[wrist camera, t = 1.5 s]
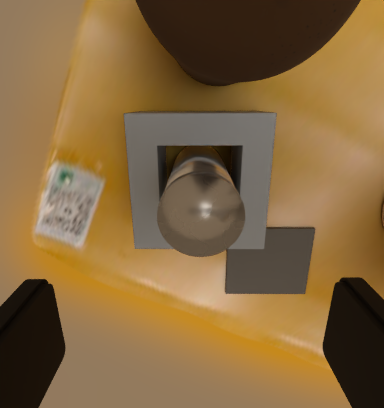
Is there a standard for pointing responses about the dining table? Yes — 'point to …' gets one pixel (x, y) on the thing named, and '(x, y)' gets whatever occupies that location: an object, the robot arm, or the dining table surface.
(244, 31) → the olive oil
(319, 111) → the dining table surface
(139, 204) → the housing
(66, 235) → the dining table surface
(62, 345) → the robot arm
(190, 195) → the silver metallic cylinder
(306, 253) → the mat
